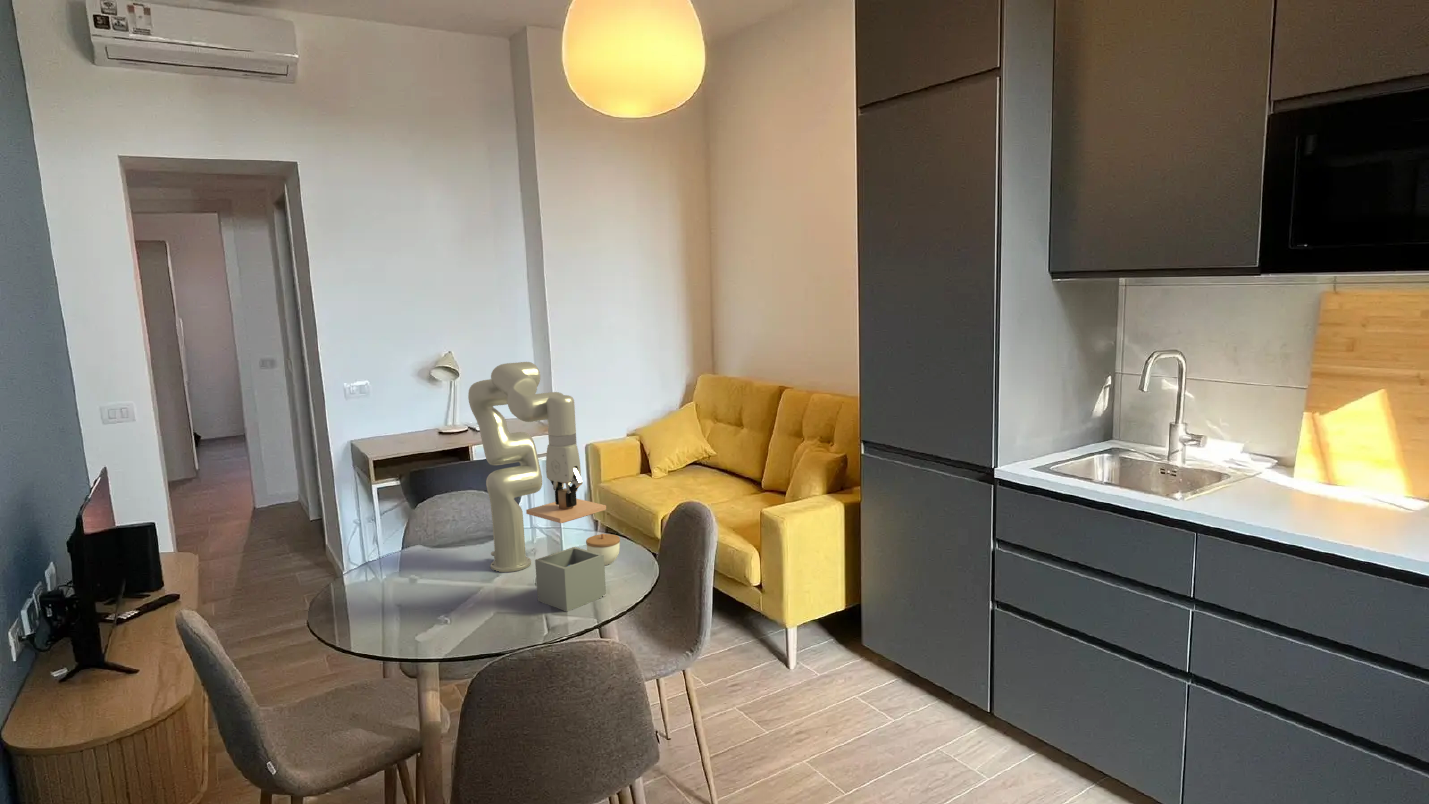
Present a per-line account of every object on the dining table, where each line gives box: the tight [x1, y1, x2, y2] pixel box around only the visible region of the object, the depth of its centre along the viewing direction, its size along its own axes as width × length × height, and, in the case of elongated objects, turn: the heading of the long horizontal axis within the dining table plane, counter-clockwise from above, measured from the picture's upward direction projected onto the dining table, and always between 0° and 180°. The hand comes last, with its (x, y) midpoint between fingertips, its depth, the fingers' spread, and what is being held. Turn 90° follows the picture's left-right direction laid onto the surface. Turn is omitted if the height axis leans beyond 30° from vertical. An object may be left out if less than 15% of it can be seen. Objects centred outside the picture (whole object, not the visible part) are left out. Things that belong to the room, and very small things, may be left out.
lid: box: [525, 487, 607, 524], centre depth 222 cm, size 15×16×7 cm
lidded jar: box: [585, 533, 621, 566], centre depth 254 cm, size 11×11×9 cm
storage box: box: [534, 546, 607, 612], centre depth 224 cm, size 13×14×12 cm
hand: (566, 504), depth 222 cm, fingers closed on lid, 4 cm apart
